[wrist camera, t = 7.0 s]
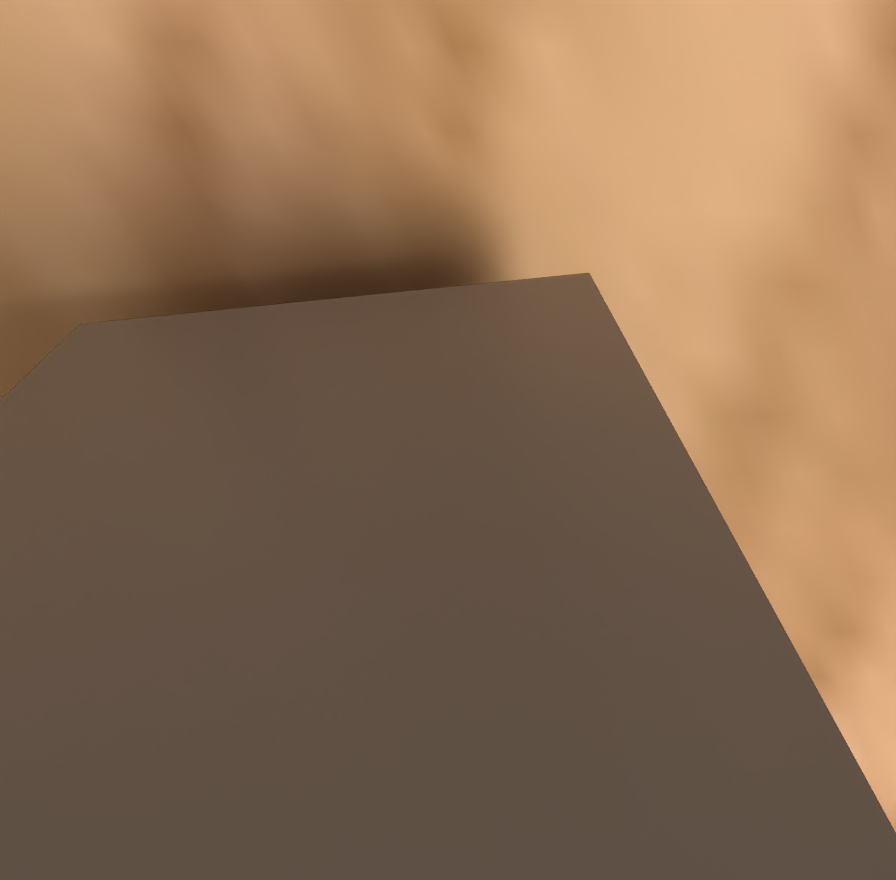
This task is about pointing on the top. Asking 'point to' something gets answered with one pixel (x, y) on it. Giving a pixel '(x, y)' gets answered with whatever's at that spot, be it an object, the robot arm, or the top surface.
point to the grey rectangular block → (392, 612)
